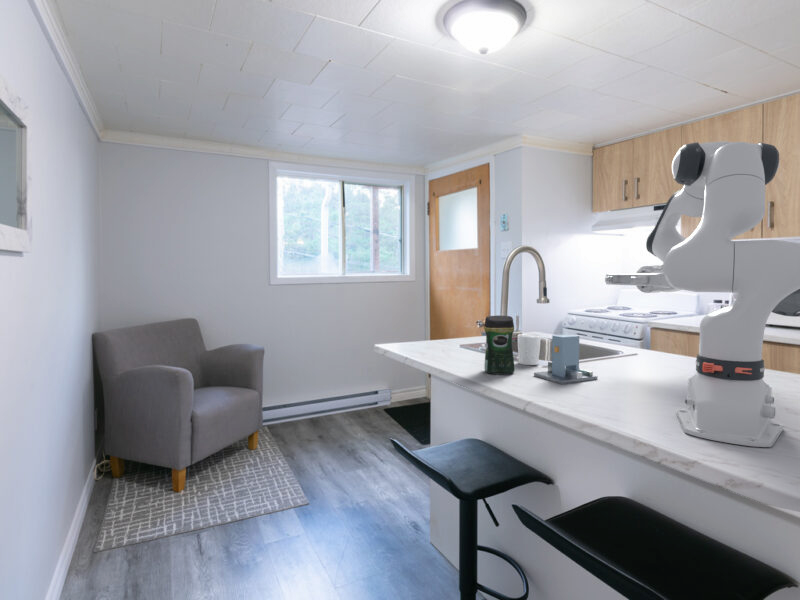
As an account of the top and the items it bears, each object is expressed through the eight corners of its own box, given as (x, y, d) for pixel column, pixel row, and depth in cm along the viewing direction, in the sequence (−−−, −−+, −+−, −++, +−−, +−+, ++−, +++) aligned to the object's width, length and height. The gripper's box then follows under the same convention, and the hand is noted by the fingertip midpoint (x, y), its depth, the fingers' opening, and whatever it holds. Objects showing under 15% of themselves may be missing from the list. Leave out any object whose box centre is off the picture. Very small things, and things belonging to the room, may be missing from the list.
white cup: (544, 363, 166) (544, 335, 165) (533, 366, 160) (534, 337, 159) (524, 360, 171) (524, 333, 170) (513, 363, 165) (513, 335, 165)
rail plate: (597, 379, 141) (597, 366, 141) (561, 384, 135) (562, 370, 135) (567, 371, 152) (568, 359, 152) (534, 375, 146) (534, 363, 146)
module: (578, 374, 143) (579, 335, 142) (560, 377, 140) (561, 337, 139) (567, 371, 147) (568, 334, 146) (550, 374, 144) (550, 335, 143)
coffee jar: (512, 369, 155) (512, 314, 154) (515, 375, 147) (516, 316, 146) (483, 369, 156) (483, 314, 155) (485, 374, 148) (485, 316, 147)
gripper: (622, 269, 159) (593, 269, 153) (680, 269, 141) (648, 269, 135) (622, 287, 160) (592, 288, 154) (679, 290, 141) (648, 291, 135)
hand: (619, 279), depth 144 cm, fingers open, 8 cm apart
